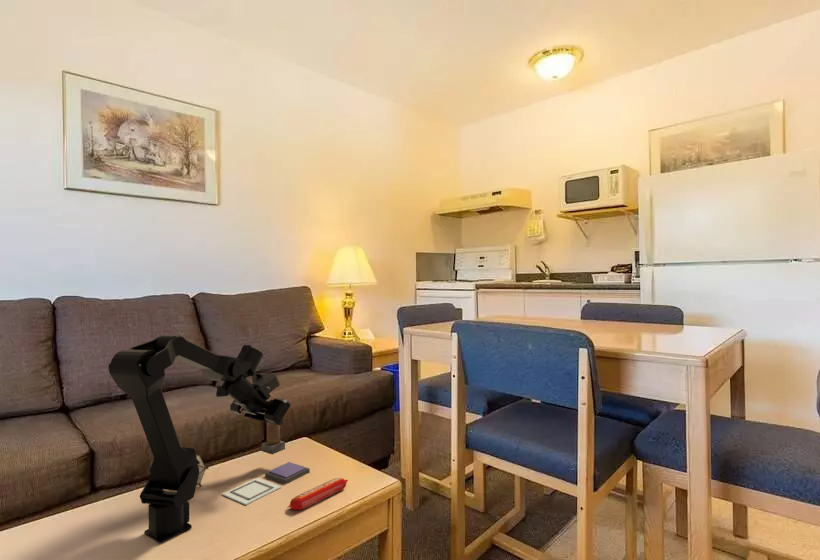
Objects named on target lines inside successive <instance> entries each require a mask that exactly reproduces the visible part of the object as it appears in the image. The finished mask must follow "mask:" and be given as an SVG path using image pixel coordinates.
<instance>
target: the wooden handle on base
mask: <svg viewBox="0 0 820 560" xmlns="http://www.w3.org/2000/svg"><path fill="white" fill-rule="evenodd" d="M268 405H269V404H268ZM280 433H281V426H280V425H276V424H272V423H267V422H266V442H263V443H261V452H263V453H267V454H269V455H274V454H277V453H279V452H282V451H284V450H285V449H286V442H285V441H282V440H281V435H280Z"/></svg>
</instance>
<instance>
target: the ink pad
mask: <svg viewBox="0 0 820 560" xmlns="http://www.w3.org/2000/svg"><path fill="white" fill-rule="evenodd" d="M310 469H311V468H309V467H305V466H303V465H300V464H296V463H295V462H290V461H288V462H286V463H284V464H281V465H279V466H276V467H274V468H272V469H270V470H268V471H266V472H264V473H265V475H264V477H265V478H268V479H270V480H274V481H277V482H280V483H282V484H285V485H287V484H289V483H291V482H292V481H295V480H297V479H299V478H301V477H303V476H305V475H307V474H309V473H310Z"/></svg>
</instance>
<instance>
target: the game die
mask: <svg viewBox="0 0 820 560" xmlns="http://www.w3.org/2000/svg"><path fill="white" fill-rule="evenodd" d="M201 454H202V451H200V452H198V454H196V457H197V460H198V461H199V462H200V464H198V467H199V477H198V481H197V485H196V487H197V486H199V488H201V487H202V484H201V483H202V480H203V478H204V475H205V472H206V470H208V469H209V468H210V467H209V466H206V465H205V463H204V461H203V459H202V457H201Z"/></svg>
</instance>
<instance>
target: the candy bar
mask: <svg viewBox="0 0 820 560" xmlns="http://www.w3.org/2000/svg"><path fill="white" fill-rule="evenodd" d="M348 481H349V479H344V478H343V477H337V478H336V477H335V478H332V479H331V480H328V481H326V482H324V483H322V484H320V485H317V486H316V487H315V486H314V488H311V489H309V490H306V491H304V492H302V493H301V494H299V495H296V496H295V497H293V498H292V499H291V500H290V504H289V505H288V506H287V509H289V508H290V509H291V510H294V511H295V510H297V511H298V510H299V511H301V510H303V509H306V508H308V507H310V506H312V505H314V504H316V503H318V502H319V501H322V500H324V499H326V498H328V497H330V496H332V495H333V494H335V493H339V491H341V490H344V489H345V488H346V486H347V483H348Z"/></svg>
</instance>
